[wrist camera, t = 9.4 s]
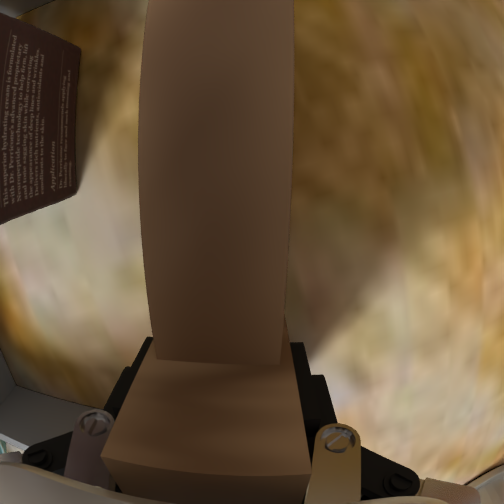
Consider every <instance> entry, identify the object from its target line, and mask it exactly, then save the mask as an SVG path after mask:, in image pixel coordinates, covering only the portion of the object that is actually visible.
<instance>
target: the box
mask: <svg viewBox="0 0 504 504" xmlns="http://www.w3.org/2000/svg"><path fill="white" fill-rule="evenodd" d="M80 53H81V49H80V48H79V47H78V46H75V45H73V44H71V43H69V42H67V41H65V40H63V39H61V38H59V37H57V36H55V35H52V34H50V33H48V32H46V31H44V30H41V29H39V28H36V27H35V26H33V25H30V24H28V23H26V22H23V21H20V20H18V19H16V18H13V17H10V16H8V15H6V14H3V13H1V12H0V225H1V224H4V223H6V222H8V221H10V220H12V219H15V218H18V217H20V216H23V215H25V214H28V213H31V212H34V211H36V210H38V209H41V208H44V207H47V206H49V205H52V204H55V203H58V202H60V201H63V200H65V199H67V198H70V197H72V196H74V195H76V179H75V108H76V91H77V80H78V69H79V60H80Z"/></svg>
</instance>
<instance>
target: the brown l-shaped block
mask: <svg viewBox="0 0 504 504" xmlns="http://www.w3.org/2000/svg"><path fill="white" fill-rule="evenodd" d="M293 127H294V0H149V2H148V9H147V17H146V25H145V33H144V42H143V53H142V65H141V79H140V96H139V126H138V172H139V202H140V221H141V236H142V249H143V260H144V271H145V280H146V289H147V297H148V305H149V313H150V320H151V327H152V333H153V341H152V343H151V345H150V347H149V349H148V351H147V353H146V355H145V357H144V360H143V362H142V364H141V366H140V368H139V370H138V372H137V374H136V376H135V379H134V381H133V383H132V385H131V387H130V389H129V392H128V394H127V396H126V398H125V400H124V403H123V405H122V407H121V409H120V412H119V414H118V416H117V418H116V421H115V423H114V425H113V427H112V430H111V432H110V434H109V437H108V439H107V441H106V444H105V446H104V448H103V451H102V453H101V455H100V456H101V458H102V460H103V462H104V463H105V465H106V467H107V468H108V470H109V472H110V473H111V475H112V477H113V478H114V480H115V482H116V483H117V485H118V486H119V488H120V489H121V491H122V493H123V494H126V495H130V496H135V497H140V498H145V499H150V500H155V501H161V502H167V503H174V504H301V503H302V501H303V498H304V495H305V493H306V490H307V487H308V484H309V481H310V479H311V476H312V469H311V463H310V457H309V451H308V445H307V439H306V433H305V427H304V421H303V415H302V409H301V403H300V398H299V392H298V386H297V380H296V375H295V369H294V364H293V358H292V353H291V347H290V342H289V336H288V331H287V326H286V320H285V315H284V309H285V295H286V281H287V265H288V249H289V231H290V211H291V188H292V162H293Z"/></svg>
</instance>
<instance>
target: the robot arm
mask: <svg viewBox="0 0 504 504" xmlns="http://www.w3.org/2000/svg"><path fill="white" fill-rule="evenodd" d="M152 341H153V337H147V338H146V339H145V341H144V343H143V345H142V347H141V349H140V351H139V353H138V355H137V357H136V358H135V360H134V362H133V364H132V366H131V367H128V366H127V367H125V369H124V370H123V372H122V374H121V376H120V378H119V380H118V381H117V383H116V385H115V387H114V389H113V391H112V393H111V395H110V397H109V399H108V401H107V403H106V405H105V407H104V409H103V410H98V409H95V410H89V411H86V412H84V413H83V414H81V415H80V416H79V417H78V418H77V420H76V422H75V426H74V430H73V431H71V432H68V433H65V434H63V435H60V436H57V437H54V438H51V439H48V440H45V441H42V442H40V443H36V444H34V445H32V446H29V447H28V448H27V449H26V450H25V451H24V453H23V454H21V453H20V452H19V451H17V452H10V453H2V454H0V504H174V503H167V502H161V501H155V500H150V499H145V498H140V497H135V496H130V495H126V494H123V493H122V491H121V489H120V488H119V486H118V485H117V483H116V482H115V480H114V478H113V477H112V475H111V473H110V472H109V470H108V468H107V467H106V465H105V463H104V462H103V460H102V458H101V456H100V455H101V453H102V451H103V448H104V446H105V444H106V441H107V439H108V437H109V434H110V432H111V430H112V427H113V425H114V423H115V421H116V418H117V416H118V414H119V412H120V409H121V407H122V405H123V403H124V400H125V398H126V396H127V394H128V392H129V389H130V387H131V385H132V383H133V381H134V379H135V376H136V374H137V372H138V370H139V368H140V366H141V364H142V362H143V360H144V357H145V355H146V353H147V351H148V349H149V347H150V345H151V343H152ZM290 347H291V353H292V358H293V364H294V369H295V375H296V380H297V386H298V392H299V398H300V403H301V409H302V415H303V421H304V427H305V433H306V439H307V445H308V451H309V457H310V463H311V469H312V476H311V479H310V481H309V484H308V487H307V490H306V493H305V495H304V498H303V501H302V503H301V504H504V465H502V466H500V467H497V468H495V469H493V470H491V471H489V472H488V473H486V474H484V475H482V476H481V477H479V478H477V479H476V480H474V481H472V482H471V483H469V484H468V485H466V486H465V485H460V484H454V483H449V482H445V481H440V480H435V479H431V478H426V479H425V480H423V479H419V477H418V475H417V474H416V473H415V472H414V471H412V470H411V469H409V468H407V467H404V466H402V465H400V464H398V463H396V462H393V461H391V460H389V459H387V458H385V457H383V456H381V455H378V454H376V453H374V452H372V451H370V450H368V449H366V448H364V447H362V446H361V440H360V436H359V434H358V433H357V431H356V430H355V429H353V428H352V427H350V426H348V425H345V424H340V423H337V419H336V415H335V412H334V408H333V405H332V401H331V398H330V394H329V391H328V387H327V384H326V380H325V377H324V375H311V372H310V368H309V364H308V360H307V356H306V351H305V347H304V344H303V342H294V343H290Z"/></svg>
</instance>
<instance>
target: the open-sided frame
mask: <svg viewBox="0 0 504 504" xmlns="http://www.w3.org/2000/svg"><path fill="white" fill-rule="evenodd" d="M51 1H54V0H0V12H1V13H3V14H6V15H8V16H10V17H13V18H15V17H17V16H19V15H22V14H24V13H26V12H28V11H30V10H32V9H35V8H37V7H39V6H41V5H44V4H46V3H49V2H51ZM95 409H97V408H92V407H88V406H84V405H80V404H76V403H72V402H68V401H64V400H61V399H57V398H54V397H50V396H47V395H44V394H40V393H37V392H34V391H31V390H28V389H25V388H22V387H19V386H17V385H16V384H15V382H14V380H13V378H12V375H11V373H10V371H9V369H8V366H7V364H6V362H5V359H4V357H3V354H2V352H1V349H0V439H1V440H3V441H5V442H7V443H9V444H11V445H13V446H15V447H17V448H19V449H22V450H24V451H25V450H26V449H27V448H28V447H29V446H32V445H34V444H36V443H40V442H42V441H45V440H48V439H51V438H54V437H57V436H60V435H63V434H65V433H68V432H71V431H73V430H74V426H75V422H76V420H77V418H78V417H79V416H80V415H81V414H83V413H84V412H86V411H89V410H95ZM98 410H102V409H98Z"/></svg>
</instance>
